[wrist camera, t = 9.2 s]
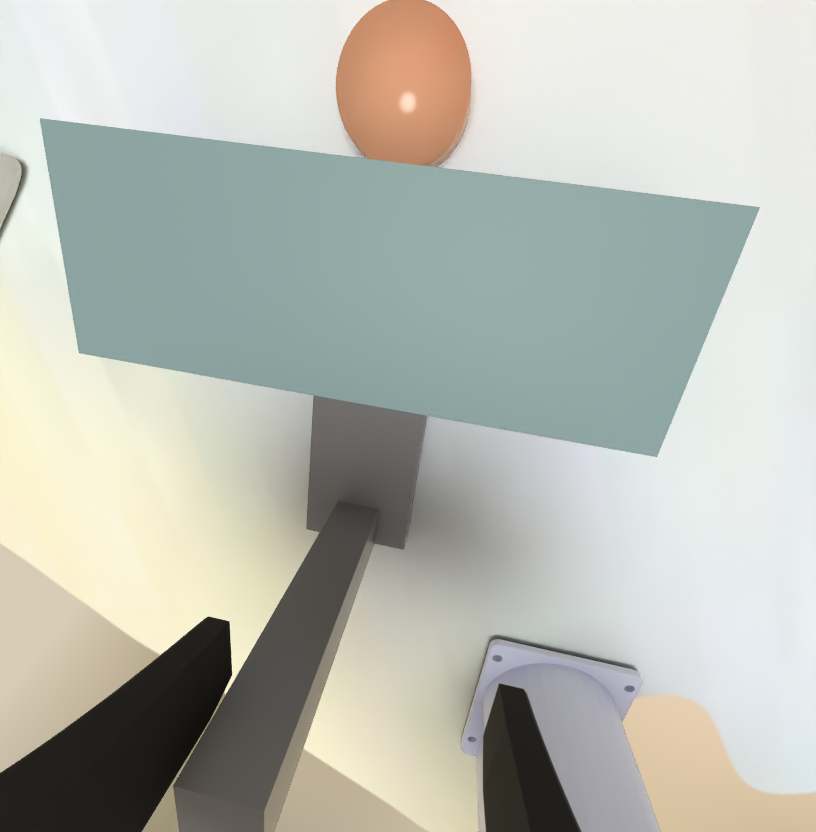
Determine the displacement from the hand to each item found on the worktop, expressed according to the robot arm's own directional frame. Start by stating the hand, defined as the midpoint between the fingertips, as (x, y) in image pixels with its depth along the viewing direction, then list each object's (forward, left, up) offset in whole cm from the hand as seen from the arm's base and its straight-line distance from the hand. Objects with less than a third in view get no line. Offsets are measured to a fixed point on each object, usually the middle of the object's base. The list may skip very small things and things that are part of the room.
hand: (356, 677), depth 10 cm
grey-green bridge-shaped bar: (+9, +2, -9) cm, 13 cm away
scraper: (+3, +2, -9) cm, 10 cm away
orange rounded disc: (+16, +2, -10) cm, 18 cm away
